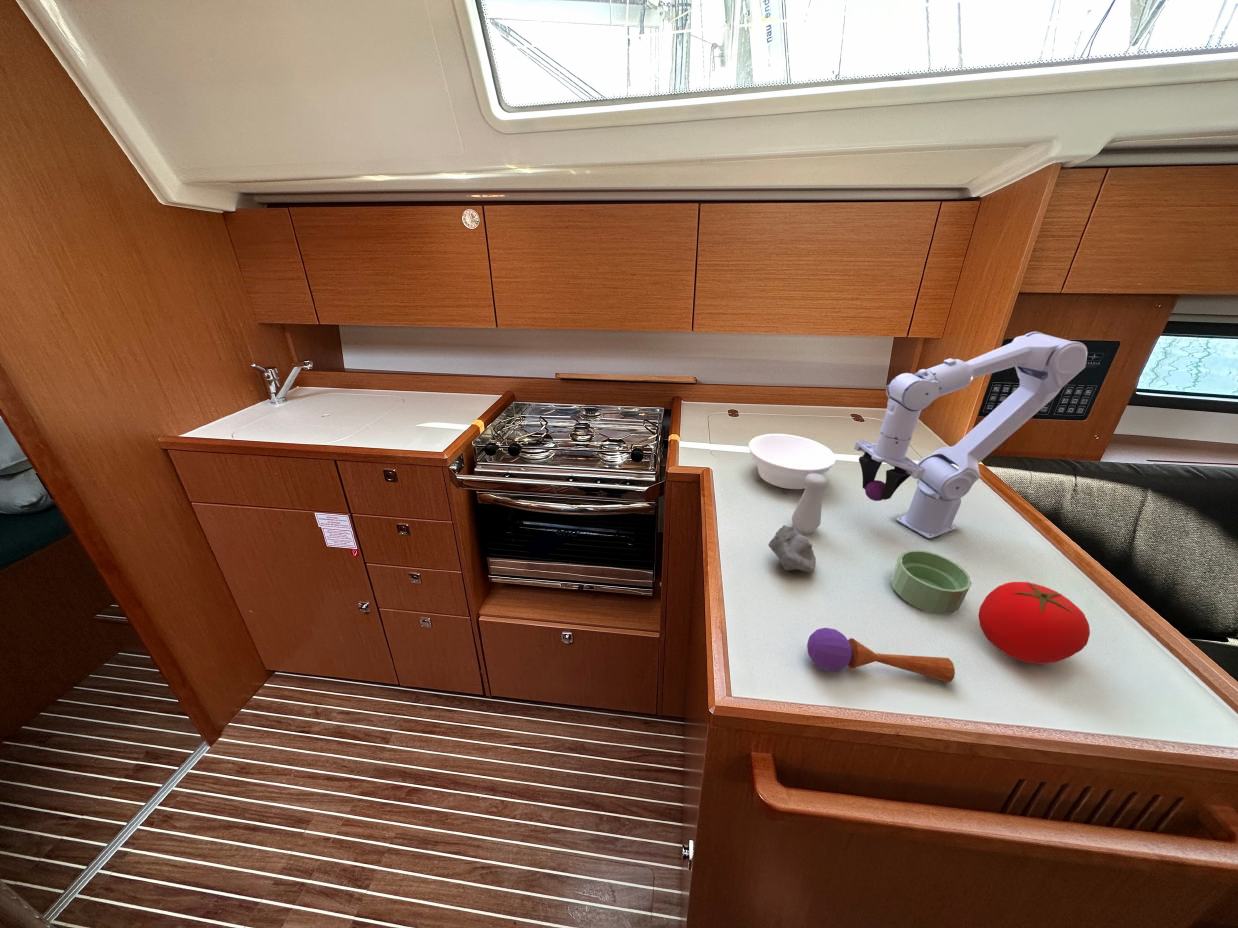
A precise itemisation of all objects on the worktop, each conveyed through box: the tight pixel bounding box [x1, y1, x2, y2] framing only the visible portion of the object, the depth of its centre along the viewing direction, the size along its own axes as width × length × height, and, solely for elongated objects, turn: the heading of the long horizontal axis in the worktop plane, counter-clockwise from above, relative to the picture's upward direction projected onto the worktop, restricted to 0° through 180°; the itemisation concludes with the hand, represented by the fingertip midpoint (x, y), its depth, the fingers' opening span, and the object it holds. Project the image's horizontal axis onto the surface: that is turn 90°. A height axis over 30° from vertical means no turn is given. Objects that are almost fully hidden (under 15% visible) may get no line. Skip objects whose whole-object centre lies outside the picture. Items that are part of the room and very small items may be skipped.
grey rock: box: [768, 524, 817, 573], centre depth 89 cm, size 11×9×8 cm
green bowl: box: [890, 549, 972, 615], centre depth 84 cm, size 11×11×6 cm
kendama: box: [806, 627, 956, 683], centre depth 69 cm, size 6×6×20 cm
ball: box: [864, 479, 886, 502], centre depth 100 cm, size 4×4×4 cm
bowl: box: [748, 433, 837, 490], centre depth 120 cm, size 21×21×8 cm
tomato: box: [978, 581, 1091, 665], centre depth 72 cm, size 12×13×11 cm
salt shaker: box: [791, 473, 828, 535], centre depth 99 cm, size 6×6×13 cm
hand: (876, 492), depth 100 cm, fingers closed on ball, 4 cm apart
